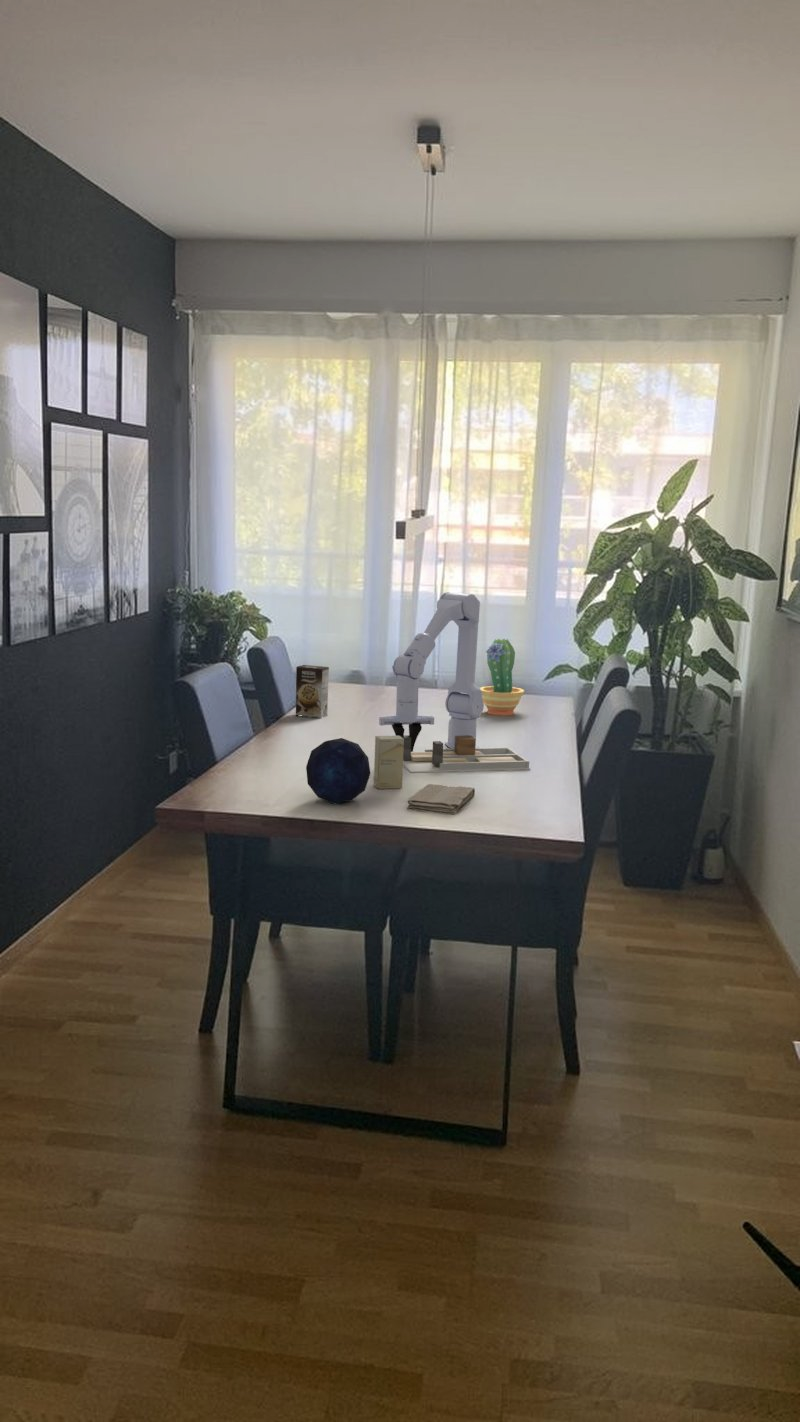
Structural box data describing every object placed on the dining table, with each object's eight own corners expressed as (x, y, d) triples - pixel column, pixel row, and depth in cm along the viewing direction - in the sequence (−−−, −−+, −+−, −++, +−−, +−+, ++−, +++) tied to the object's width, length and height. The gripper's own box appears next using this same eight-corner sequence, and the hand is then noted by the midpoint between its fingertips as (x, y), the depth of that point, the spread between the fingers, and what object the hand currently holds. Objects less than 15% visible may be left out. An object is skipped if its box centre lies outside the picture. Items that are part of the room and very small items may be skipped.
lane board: (395, 756, 280) (395, 749, 280) (508, 754, 287) (508, 746, 287) (410, 772, 263) (410, 765, 262) (530, 769, 270) (530, 761, 269)
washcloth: (404, 811, 229) (405, 798, 229) (426, 792, 246) (426, 779, 245) (457, 817, 226) (457, 803, 225) (475, 797, 243) (476, 784, 242)
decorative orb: (393, 780, 233) (365, 722, 237) (346, 792, 222) (318, 731, 226) (356, 807, 242) (330, 751, 246) (309, 820, 231) (282, 761, 234)
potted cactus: (469, 710, 353) (472, 637, 348) (508, 707, 359) (511, 636, 355) (492, 718, 339) (495, 642, 335) (532, 715, 346) (536, 641, 341)
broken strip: (430, 762, 272) (431, 740, 271) (511, 760, 277) (512, 738, 276) (436, 767, 266) (437, 744, 265) (518, 765, 271) (519, 743, 270)
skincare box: (377, 789, 246) (378, 739, 243) (373, 784, 250) (374, 735, 248) (403, 788, 247) (404, 738, 245) (398, 783, 251) (399, 734, 249)
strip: (399, 756, 278) (400, 734, 277) (478, 754, 283) (479, 732, 282) (404, 761, 272) (405, 738, 271) (485, 759, 277) (486, 737, 276)
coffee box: (294, 716, 334) (295, 666, 331) (302, 713, 340) (302, 664, 337) (321, 718, 331) (322, 668, 328) (328, 715, 337) (329, 666, 334)
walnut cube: (454, 751, 281) (454, 735, 280) (470, 751, 282) (470, 735, 281) (458, 755, 276) (459, 739, 275) (474, 755, 277) (475, 738, 276)
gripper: (383, 703, 267) (382, 755, 270) (437, 703, 270) (436, 753, 273) (377, 699, 274) (376, 749, 276) (431, 698, 277) (429, 748, 280)
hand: (405, 751), depth 275 cm, fingers closed on strip, 2 cm apart
